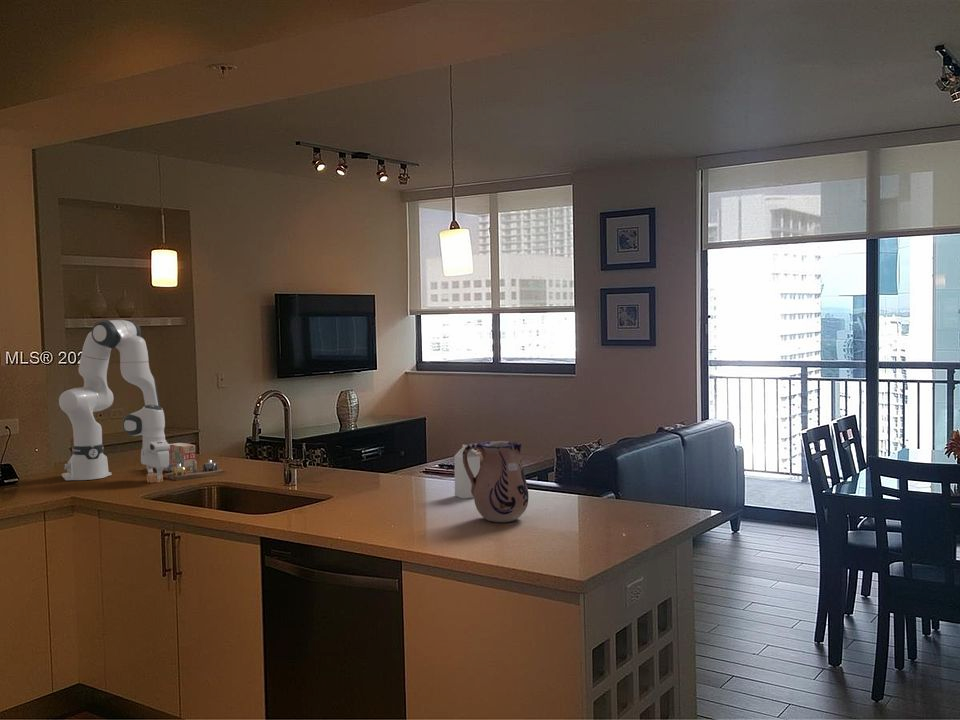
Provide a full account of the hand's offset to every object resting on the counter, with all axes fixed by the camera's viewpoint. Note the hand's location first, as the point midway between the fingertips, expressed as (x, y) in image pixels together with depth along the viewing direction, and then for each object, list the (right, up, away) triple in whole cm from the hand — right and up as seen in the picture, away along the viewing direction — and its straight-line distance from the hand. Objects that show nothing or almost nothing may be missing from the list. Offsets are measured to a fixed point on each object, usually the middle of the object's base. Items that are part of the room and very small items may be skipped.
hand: (154, 477), depth 352 cm
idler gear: (0, -2, 0) cm, 2 cm away
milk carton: (+131, -2, -39) cm, 137 cm away
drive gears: (+12, 0, +13) cm, 18 cm away
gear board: (+12, -1, +13) cm, 18 cm away
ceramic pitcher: (+141, -3, -78) cm, 161 cm away
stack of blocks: (-1, -1, +28) cm, 28 cm away
